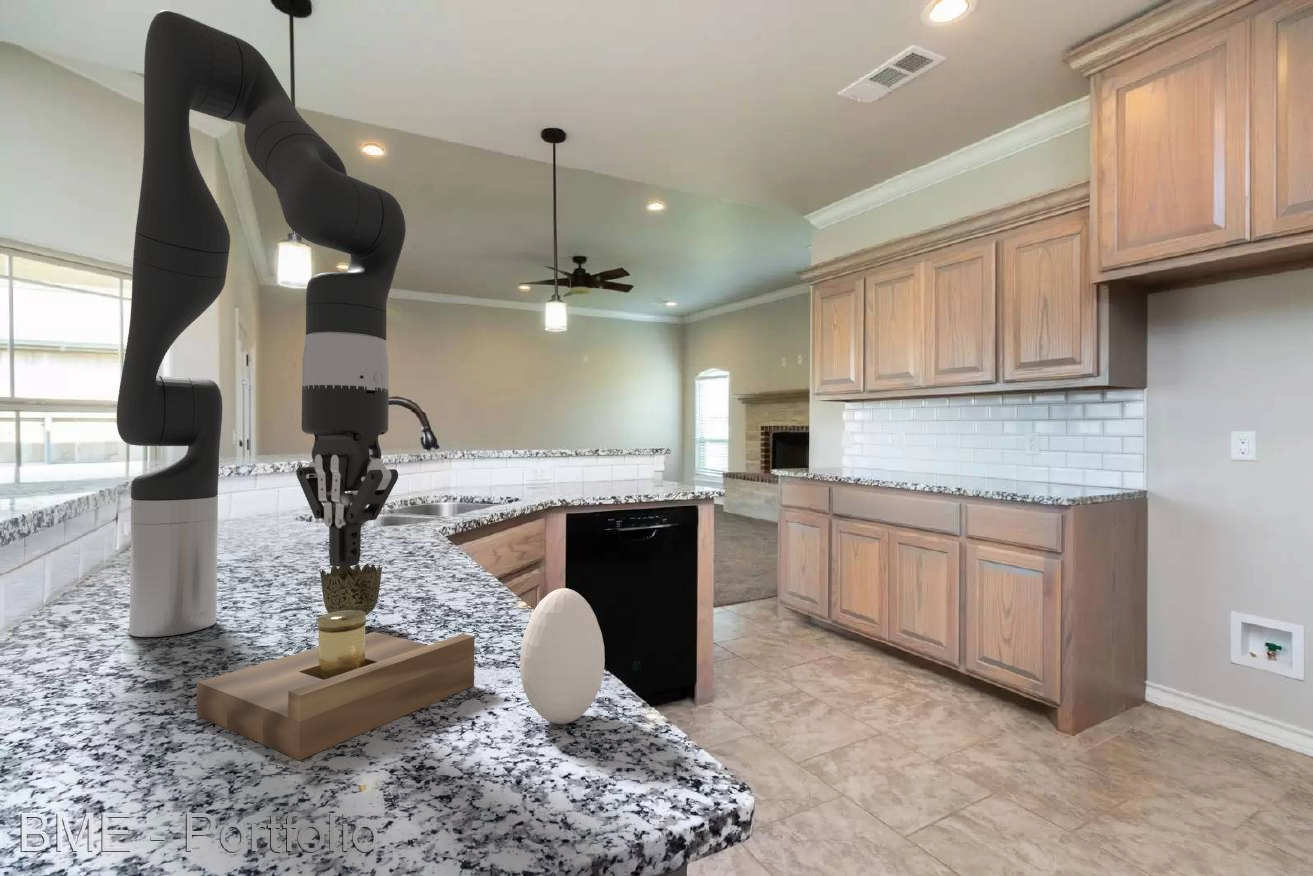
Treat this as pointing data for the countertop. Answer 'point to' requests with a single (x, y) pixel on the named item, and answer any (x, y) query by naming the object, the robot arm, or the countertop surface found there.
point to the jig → (335, 693)
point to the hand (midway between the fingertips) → (344, 565)
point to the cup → (351, 588)
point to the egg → (562, 657)
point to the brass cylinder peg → (341, 642)
